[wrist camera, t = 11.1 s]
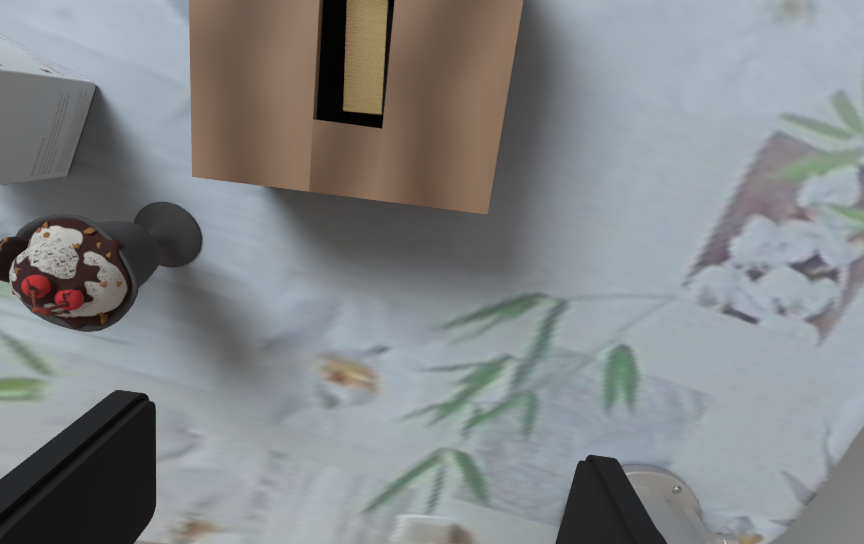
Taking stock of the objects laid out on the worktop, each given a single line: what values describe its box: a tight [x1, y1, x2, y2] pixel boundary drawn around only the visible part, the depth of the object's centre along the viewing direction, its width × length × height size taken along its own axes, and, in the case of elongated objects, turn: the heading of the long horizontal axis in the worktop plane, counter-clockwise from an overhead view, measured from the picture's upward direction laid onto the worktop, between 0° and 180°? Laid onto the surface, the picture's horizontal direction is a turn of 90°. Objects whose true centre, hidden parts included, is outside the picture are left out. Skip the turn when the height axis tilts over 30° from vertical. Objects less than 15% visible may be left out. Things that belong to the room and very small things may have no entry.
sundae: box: [0, 202, 201, 332], centre depth 28 cm, size 7×7×15 cm
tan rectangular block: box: [343, 0, 393, 116], centre depth 29 cm, size 2×6×6 cm
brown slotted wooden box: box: [189, 0, 524, 215], centre depth 28 cm, size 16×16×9 cm
